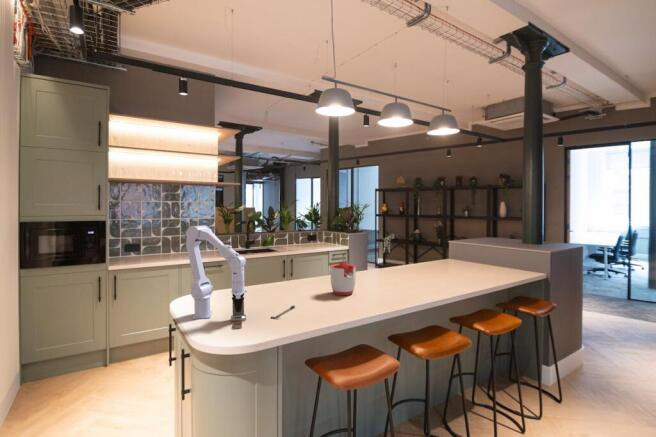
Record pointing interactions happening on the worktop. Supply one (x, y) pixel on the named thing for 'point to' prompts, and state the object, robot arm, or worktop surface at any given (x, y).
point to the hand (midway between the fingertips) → (238, 310)
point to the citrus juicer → (343, 278)
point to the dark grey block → (238, 312)
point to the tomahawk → (283, 313)
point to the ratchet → (238, 320)
